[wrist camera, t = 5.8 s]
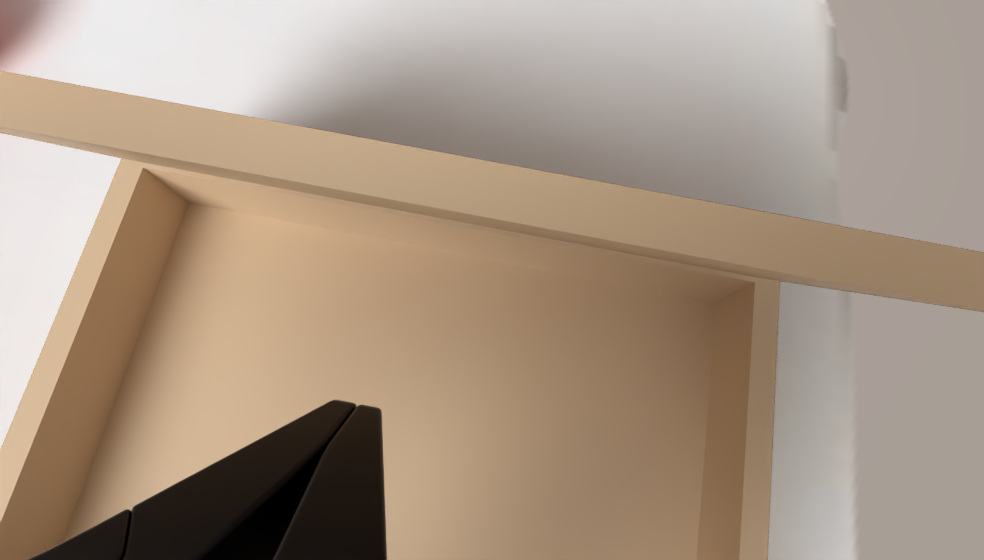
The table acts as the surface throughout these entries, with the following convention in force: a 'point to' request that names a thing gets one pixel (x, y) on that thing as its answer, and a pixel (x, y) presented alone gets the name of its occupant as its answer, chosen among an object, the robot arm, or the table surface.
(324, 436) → the robot arm
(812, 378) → the table surface
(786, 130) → the table surface
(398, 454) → the carton
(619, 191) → the carton flap
